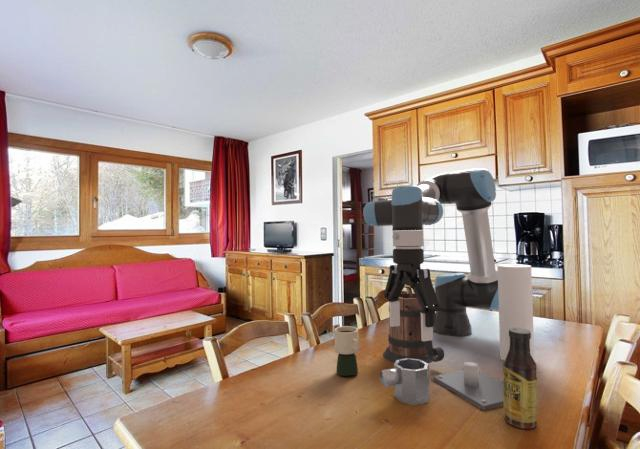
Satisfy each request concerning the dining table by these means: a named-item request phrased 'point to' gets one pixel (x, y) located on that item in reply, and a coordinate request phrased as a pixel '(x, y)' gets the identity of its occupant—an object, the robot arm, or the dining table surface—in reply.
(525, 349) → the sauce bottle
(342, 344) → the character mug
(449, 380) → the grey peg base plate
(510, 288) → the cylinder container
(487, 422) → the dining table surface
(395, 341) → the tankard
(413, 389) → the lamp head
